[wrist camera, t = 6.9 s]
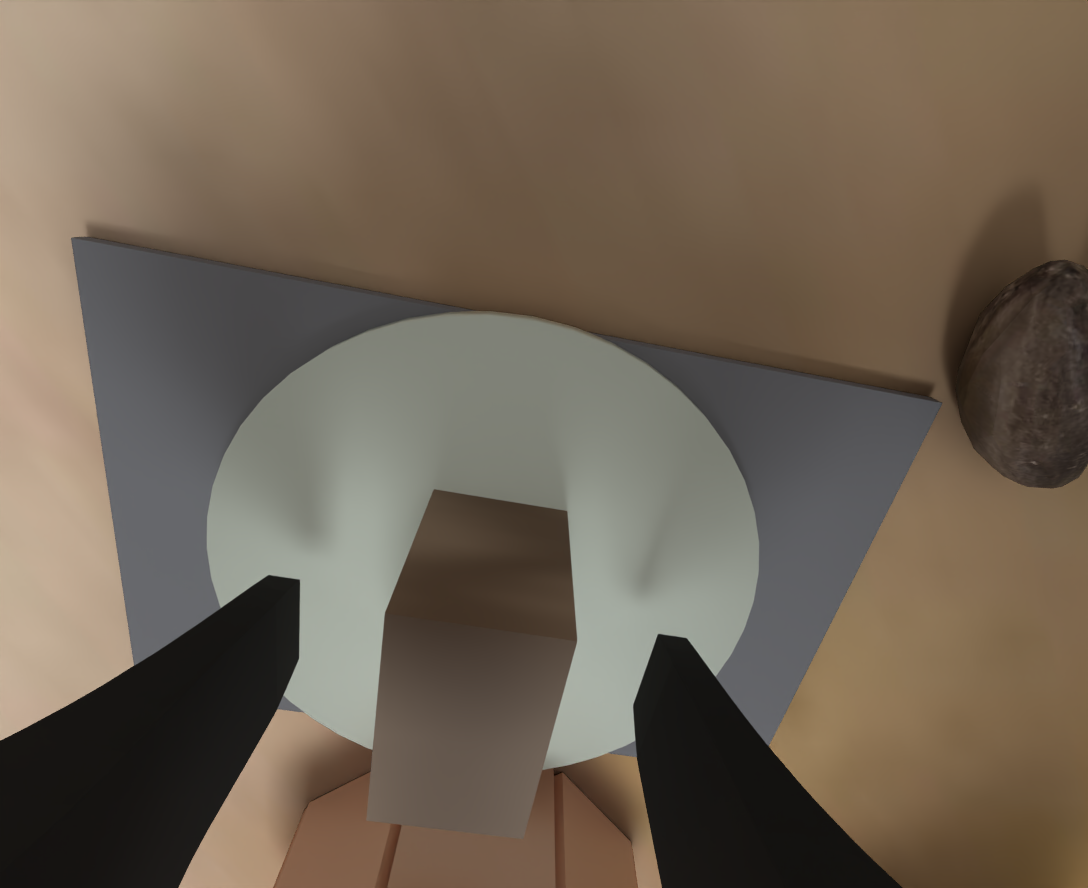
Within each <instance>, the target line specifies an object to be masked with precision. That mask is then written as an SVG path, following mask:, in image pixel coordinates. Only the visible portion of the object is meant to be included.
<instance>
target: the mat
mask: <svg viewBox="0 0 1088 888" xmlns="http://www.w3.org/2000/svg"><path fill="white" fill-rule="evenodd" d="M71 240H72V247H73V254H74V261H75V267H76V274H77V281H78V288H79V295H80V301H81V308H82V315H83V322H84V329H85V335H86V342H87V349H88V356H89V362H90V369H91V376H92V383H93V390H94V396H95V403H96V410H97V417H98V424H99V430H100V437H101V444H102V451H103V458H104V464H105V471H106V478H107V485H108V492H109V498H110V505H111V512H112V519H113V525H114V532H115V539H116V546H117V553H118V559H119V566H120V573H121V580H122V587H123V593H124V600H125V607H126V614H127V621H128V627H129V634H130V641H131V648H132V655H133V661H134V666H135V665H136V664H138V663H139V662H141V661H143V660H144V659H146V658H147V657H149V656H151V655H152V654H154V653H155V652H157V651H158V650H160V649H161V648H163V647H165V646H166V645H167V644H169V643H170V642H172V641H173V640H175V639H176V638H178V637H179V636H181V635H182V634H184V633H185V632H187V631H188V630H190V629H191V628H193V627H194V626H196V625H197V624H199V623H200V622H202V621H203V620H204V619H206V618H207V617H209V616H210V615H212V614H213V613H214V612H216V611H217V610H219V609H220V608H221V607H220V605H219V601H218V598H217V595H216V592H215V588H214V585H213V582H212V579H211V573H210V566H209V560H208V553H207V515H208V509H209V504H210V498H211V492H212V487H213V484H214V481H215V478H216V475H217V473H218V470H219V467H220V464H221V461H222V459H223V456H224V454H225V452H226V450H227V449H228V447H229V445H230V443H231V442H232V440H233V438H234V436H235V435H236V433H237V431H238V429H239V427H240V426H241V424H242V423H243V422H244V421H245V420H246V418H247V417H248V416H249V415H250V413H251V412H252V411H253V410H254V408H255V407H256V406H257V405H258V404H259V402H260V401H261V400H262V399H263V398H264V397H265V396H266V395H267V394H268V393H269V392H270V391H271V390H273V389H274V388H275V387H276V386H277V385H278V384H279V383H280V382H282V381H283V380H284V379H285V378H286V377H287V376H288V375H289V374H291V373H292V372H293V371H295V370H297V369H298V368H300V367H301V366H303V365H304V364H306V363H307V362H309V361H311V360H312V359H314V358H315V357H317V356H318V355H320V354H321V353H323V352H324V351H326V350H328V349H329V348H331V347H332V346H334V345H336V344H338V343H340V342H342V341H345V340H347V339H349V338H351V337H354V336H356V335H358V334H360V333H362V332H365V331H367V330H369V329H372V328H375V327H379V326H382V325H386V324H389V323H393V322H396V321H400V320H403V319H406V318H411V317H418V316H425V315H432V314H438V313H445V312H461V311H475V310H470V309H464V308H459V307H454V306H449V305H443V304H438V303H433V302H428V301H422V300H417V299H412V298H407V297H401V296H396V295H391V294H385V293H380V292H375V291H370V290H364V289H359V288H354V287H349V286H343V285H338V284H333V283H328V282H322V281H317V280H312V279H307V278H301V277H296V276H291V275H286V274H280V273H275V272H270V271H265V270H259V269H254V268H249V267H244V266H238V265H233V264H228V263H223V262H217V261H212V260H207V259H201V258H196V257H191V256H186V255H180V254H175V253H170V252H165V251H159V250H154V249H149V248H144V247H138V246H133V245H128V244H123V243H117V242H112V241H107V240H102V239H96V238H91V237H75V238H71ZM588 333H591V332H588ZM591 334H593V335H596V336H598V337H601V338H602V339H605V340H607V341H610V342H612V343H614V344H616V345H617V346H619V347H621V348H622V349H624V350H626V351H628V352H629V353H631V354H633V355H635V356H636V357H638V358H640V359H642V360H643V361H645V362H647V363H648V364H649V365H651V366H652V367H653V368H654V369H656V370H657V371H658V372H660V373H661V374H662V375H663V376H665V377H666V378H667V379H669V380H670V381H671V382H672V383H674V384H675V385H676V386H677V387H678V388H679V389H680V390H681V391H682V392H683V393H684V394H685V395H686V396H687V397H688V398H689V399H690V400H691V401H692V402H693V403H694V404H695V405H696V406H697V408H698V409H699V410H700V411H701V412H702V413H703V414H704V416H705V417H706V418H707V419H708V421H709V422H710V423H711V425H712V426H713V428H714V429H715V430H716V432H717V433H718V435H719V436H720V438H721V439H722V440H723V442H724V443H725V445H726V446H727V447H728V449H729V450H730V452H731V454H732V456H733V458H734V460H735V462H736V464H737V466H738V468H739V470H740V472H741V474H742V476H743V478H744V480H745V483H746V486H747V489H748V492H749V496H750V499H751V502H752V505H753V508H754V511H755V518H756V525H757V531H758V538H759V574H758V580H757V585H756V591H755V597H754V602H753V605H752V608H751V611H750V614H749V617H748V620H747V623H746V626H745V628H744V631H743V633H742V635H741V636H740V638H739V640H738V642H737V644H736V646H735V648H734V650H733V652H732V654H731V656H730V657H729V658H728V660H727V661H726V663H725V664H724V665H723V667H722V668H721V670H720V671H719V673H718V674H717V675H716V678H717V680H718V681H719V682H720V684H721V685H722V687H723V688H724V689H725V691H726V692H727V693H728V695H729V696H730V697H731V699H732V700H733V701H734V703H735V704H736V705H737V707H738V708H739V709H740V711H741V712H742V713H743V715H744V716H745V717H746V719H747V720H748V721H749V722H750V724H751V725H752V726H753V728H754V729H755V730H756V731H757V733H758V734H759V735H760V736H761V738H762V739H763V740H764V741H765V743H766V744H767V745H768V746H769V744H770V742H771V740H772V738H773V736H774V734H775V732H776V730H777V729H778V727H779V725H780V723H781V721H782V719H783V717H784V715H785V713H786V711H787V709H788V707H789V705H790V703H791V701H792V699H793V697H794V695H795V693H796V691H797V689H798V687H799V685H800V683H801V681H802V679H803V677H804V675H805V673H806V671H807V669H808V667H809V665H810V663H811V661H812V659H813V657H814V656H815V654H816V652H817V650H818V648H819V646H820V644H821V642H822V640H823V638H824V636H825V634H826V632H827V630H828V628H829V626H830V624H831V622H832V620H833V618H834V616H835V614H836V612H837V610H838V608H839V606H840V604H841V602H842V600H843V598H844V596H845V594H846V592H847V590H848V588H849V586H850V584H851V583H852V581H853V579H854V577H855V575H856V573H857V571H858V569H859V567H860V565H861V563H862V561H863V559H864V557H865V555H866V553H867V551H868V549H869V547H870V545H871V543H872V541H873V539H874V537H875V535H876V533H877V531H878V529H879V527H880V525H881V523H882V521H883V519H884V517H885V515H886V513H887V511H888V509H889V508H890V506H891V504H892V502H893V500H894V498H895V496H896V494H897V492H898V490H899V488H900V486H901V484H902V482H903V480H904V478H905V476H906V474H907V472H908V470H909V468H910V466H911V464H912V462H913V460H914V458H915V456H916V454H917V452H918V450H919V448H920V446H921V444H922V442H923V440H924V438H925V436H926V435H927V433H928V431H929V429H930V427H931V425H932V423H933V421H934V419H935V417H936V415H937V413H938V411H939V409H940V407H941V405H942V403H941V402H939V401H937V400H935V399H933V398H931V397H927V396H922V395H916V394H911V393H906V392H901V391H895V390H890V389H885V388H880V387H874V386H869V385H864V384H859V383H853V382H848V381H843V380H838V379H832V378H827V377H822V376H817V375H811V374H806V373H801V372H796V371H790V370H785V369H780V368H775V367H769V366H764V365H759V364H753V363H748V362H743V361H738V360H732V359H727V358H722V357H717V356H711V355H706V354H701V353H696V352H690V351H685V350H680V349H675V348H669V347H664V346H659V345H654V344H648V343H643V342H638V341H633V340H627V339H622V338H617V337H612V336H606V335H601V334H596V333H591ZM277 709H282V710H289V711H297V712H303V711H302V710H301V709H299V708H298V707H297V706H295V705H294V704H293V703H291V702H290V701H289V700H288V699H287V698H286V697H285V696H284V695H283V697H282V700H281V702H280V704H279V706H278V708H277ZM304 713H305V712H304ZM609 753H610V754H618V755H625V756H633V757H637V753H636V741H634V742H632V743H630V744H628V745H626V746H624V747H621V748H619V749H616V750H614V751H611V752H609Z"/></svg>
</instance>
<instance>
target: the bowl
mask: <svg viewBox="0 0 1088 888" xmlns="http://www.w3.org/2000/svg"><path fill="white" fill-rule="evenodd" d="M370 773H371V772H369V773H367V774H365V775H363V776H361V777H359V778H357V779H355V780H353V781H351V782H349V783H347V784H345V785H343V786H341V787H339V788H337V789H335V790H333V791H331V792H329V793H327V794H325V795H323V796H321V797H319V798H317V799H315V800H313V801H311V802H309V804H308V807H307V808H305V810H304V812H303V815H302V817H301V820H300V822H299V825H298V827H297V830H296V832H295V835H294V837H293V840H292V842H291V845H290V847H289V850H288V852H287V855H286V857H285V860H284V862H283V865H282V867H281V870H280V872H279V875H278V877H277V879H276V882H275V884H274V887H273V888H638V886H637V878H636V871H635V864H634V856H633V849H632V846H631V841H630V840H629V839H628V838H627V837H626V836H625V835H624V834H623V833H622V832H621V831H620V830H619V829H618V828H617V827H616V826H615V825H614V824H613V823H612V822H611V821H610V820H609V819H608V818H607V817H606V816H605V815H604V814H603V813H602V812H601V811H600V810H599V809H598V808H597V807H596V806H595V805H594V804H593V803H592V802H591V801H590V800H589V799H588V798H587V797H586V796H585V795H584V794H583V793H582V792H581V791H580V790H579V789H578V788H577V787H576V786H575V785H574V784H573V783H572V782H571V781H570V780H569V779H568V778H567V777H566V775H565V774H564V773H563V772H562V773H560V774H558V775H556V776H554V768H551V769H545V770H542V773H541V776H540V780H539V784H538V787H537V791H536V795H535V798H534V802H533V806H532V809H531V813H530V817H529V820H528V824H527V828H526V831H525V835H524V838H523V839H518V838H509V837H501V836H492V835H484V834H475V833H467V832H458V831H450V830H441V829H433V828H424V827H416V826H408V825H399V824H391V823H382V822H374V821H366V818H367V807H368V795H369V784H370Z"/></svg>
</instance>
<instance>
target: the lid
mask: <svg viewBox="0 0 1088 888" xmlns="http://www.w3.org/2000/svg"><path fill="white" fill-rule="evenodd" d="M207 553H208V560H209V566H210V573H211V579H212V582H213V585H214V588H215V592H216V595H217V598H218V601H219V605H220V607H221V608H222V607H223V606H224V605H226V604H227V603H229V602H230V601H231V600H233V599H234V598H236V597H237V596H238V595H240V594H241V593H243V592H244V591H246V590H247V589H248V588H250V587H251V586H253V585H254V584H256V583H257V582H259V581H260V580H261V579H263V578H264V577H266V576H268V575H273V576H279V577H286V578H293V579H299V580H300V633H299V660H298V663H297V665H296V667H295V670H294V672H293V674H292V677H291V679H290V681H289V684H288V686H287V688H286V691H285V693H284V696H285V697H286V698H287V699H288V700H289V701H290V702H291V703H293V704H294V705H295V706H297V707H298V708H299V709H301V710H302V711H303V712H305V713H306V714H307V715H309V716H310V717H311V718H313V719H314V720H316V721H317V722H319V723H320V724H322V725H324V726H325V727H327V728H329V729H330V730H332V731H334V732H335V733H337V734H339V735H341V736H343V737H345V738H347V739H349V740H351V741H353V742H355V743H357V744H360V745H362V746H364V747H366V748H368V749H371V750H373V751H372V762H371V773H370V784H369V795H368V807H367V818H366V821H374V822H382V823H391V824H399V825H408V826H416V827H424V828H433V829H441V830H450V831H458V832H467V833H475V834H484V835H492V836H501V837H509V838H518V839H523V838H524V835H525V831H526V828H527V824H528V820H529V817H530V813H531V809H532V806H533V802H534V798H535V795H536V791H537V787H538V784H539V780H540V776H541V773H542V770H545V769H551V768H556V767H561V766H566V765H571V764H575V763H578V762H582V761H585V760H589V759H592V758H595V757H599V756H601V755H604V754H606V753H609V752H611V751H614V750H616V749H619V748H621V747H624V746H626V745H628V744H630V743H632V742H634V741H635V729H634V714H633V704H634V701H635V698H636V695H637V692H638V690H639V687H640V684H641V681H642V678H643V675H644V672H645V670H646V667H647V664H648V661H649V658H650V655H651V652H652V649H653V647H654V644H655V641H656V638H657V635H658V634H664V635H670V636H677V637H683V638H687V639H688V640H689V641H690V643H691V644H692V645H693V647H694V648H695V650H696V651H697V652H698V654H699V655H700V656H701V658H702V659H703V660H704V662H705V663H706V665H707V666H708V667H709V669H710V670H711V672H712V673H713V674H714V676H715V677H716V675H717V674H718V673H719V671H720V670H721V668H722V667H723V665H724V664H725V663H726V661H727V660H728V658H729V657H730V656H731V654H732V652H733V650H734V648H735V646H736V644H737V642H738V640H739V638H740V636H741V635H742V633H743V631H744V628H745V626H746V623H747V620H748V617H749V614H750V611H751V608H752V605H753V602H754V597H755V591H756V585H757V580H758V574H759V538H758V531H757V525H756V518H755V511H754V508H753V505H752V502H751V499H750V496H749V492H748V489H747V486H746V483H745V480H744V478H743V476H742V474H741V472H740V470H739V468H738V466H737V464H736V462H735V460H734V458H733V456H732V454H731V452H730V450H729V449H728V447H727V446H726V445H725V443H724V442H723V440H722V439H721V438H720V436H719V435H718V433H717V432H716V430H715V429H714V428H713V426H712V425H711V423H710V422H709V421H708V419H707V418H706V417H705V416H704V414H703V413H702V412H701V411H700V410H699V409H698V408H697V406H696V405H695V404H694V403H693V402H692V401H691V400H690V399H689V398H688V397H687V396H686V395H685V394H684V393H683V392H682V391H681V390H680V389H679V388H678V387H677V386H676V385H675V384H674V383H672V382H671V381H670V380H669V379H667V378H666V377H665V376H663V375H662V374H661V373H660V372H658V371H657V370H656V369H654V368H653V367H652V366H651V365H649V364H648V363H647V362H645V361H643V360H642V359H640V358H638V357H636V356H635V355H633V354H631V353H629V352H628V351H626V350H624V349H622V348H621V347H619V346H617V345H616V344H614V343H612V342H610V341H607V340H605V339H602V338H601V337H598V336H596V335H593V334H591V333H588V332H586V331H583V330H581V329H579V328H576V327H574V326H570V325H566V324H562V323H558V322H554V321H550V320H546V319H543V318H539V317H535V316H528V315H520V314H512V313H503V312H495V311H461V312H445V313H438V314H432V315H425V316H418V317H411V318H406V319H403V320H400V321H396V322H393V323H389V324H386V325H382V326H379V327H375V328H372V329H369V330H367V331H365V332H362V333H360V334H358V335H356V336H354V337H351V338H349V339H347V340H345V341H342V342H340V343H338V344H336V345H334V346H332V347H331V348H329V349H328V350H326V351H324V352H323V353H321V354H320V355H318V356H317V357H315V358H314V359H312V360H311V361H309V362H307V363H306V364H304V365H303V366H301V367H300V368H298V369H297V370H295V371H293V372H292V373H291V374H289V375H288V376H287V377H286V378H285V379H284V380H283V381H282V382H280V383H279V384H278V385H277V386H276V387H275V388H274V389H273V390H271V391H270V392H269V393H268V394H267V395H266V396H265V397H264V398H263V399H262V400H261V401H260V402H259V404H258V405H257V406H256V407H255V408H254V410H253V411H252V412H251V413H250V415H249V416H248V417H247V418H246V420H245V421H244V422H243V423H242V424H241V426H240V427H239V429H238V431H237V433H236V435H235V436H234V438H233V440H232V442H231V443H230V445H229V447H228V449H227V450H226V452H225V454H224V456H223V459H222V461H221V464H220V467H219V470H218V473H217V475H216V478H215V481H214V484H213V487H212V492H211V498H210V504H209V509H208V515H207Z"/></svg>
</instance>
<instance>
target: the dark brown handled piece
mask: <svg viewBox="0 0 1088 888" xmlns="http://www.w3.org/2000/svg"><path fill="white" fill-rule="evenodd" d="M956 395H957V400H958V406H959V411H960V417H961V422H962V424H963V426H964V428H965V431H966V433H967V435H968V437H969V439H970V441H971V443H972V445H973V448H974V449H975V450H976V451H977V452H978V453H979V454H980V455H981V456H982V457H983V458H984V459H985V460H986V461H987V462H988V463H989V464H990V465H991V466H992V467H994V468H995V469H996V470H997V471H998V472H999V473H1001V474H1002V475H1003V476H1004V477H1007V478H1009V479H1011V480H1013V481H1015V482H1017V483H1019V484H1021V485H1024V486H1028V487H1039V488H1057V487H1062V486H1064V485H1066V484H1068V483H1069V482H1071V481H1073V480H1075V479H1076V478H1078V477H1079V476H1080V475H1081V473H1082V472H1083V471H1084V469H1085V468H1086V466H1087V464H1088V270H1087V269H1086V268H1085V267H1084V266H1082V265H1079V264H1076V263H1073V262H1070V261H1067V260H1060V261H1050V262H1047V263H1045V264H1043V265H1041V266H1039V267H1036V268H1034V269H1032V270H1031V271H1029V272H1028V273H1026V274H1025V275H1023V276H1022V277H1020V278H1019V279H1017V280H1016V281H1014V282H1013V283H1011V284H1009V285H1008V286H1006V287H1005V288H1004V289H1003V290H1002V291H1001V293H1000V294H999V295H998V296H997V297H996V298H995V299H994V300H993V301H992V302H991V303H990V304H989V305H988V306H987V307H986V308H985V309H984V310H983V312H982V313H981V314H980V316H979V318H978V321H977V324H976V326H975V329H974V331H973V334H972V336H971V339H970V341H969V344H968V346H967V349H966V352H965V354H964V357H963V359H962V362H961V364H960V367H959V369H958V375H957V383H956Z"/></svg>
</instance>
